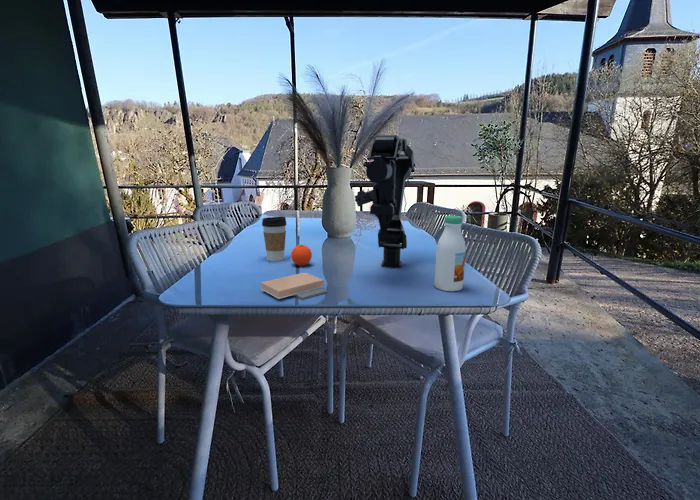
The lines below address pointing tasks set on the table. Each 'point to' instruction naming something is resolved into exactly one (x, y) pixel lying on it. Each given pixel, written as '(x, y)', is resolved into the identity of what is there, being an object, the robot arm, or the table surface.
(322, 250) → the table surface
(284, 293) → the tile
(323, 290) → the mat
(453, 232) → the milk bottle
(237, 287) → the table surface
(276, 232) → the coffee cup
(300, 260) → the clementine
